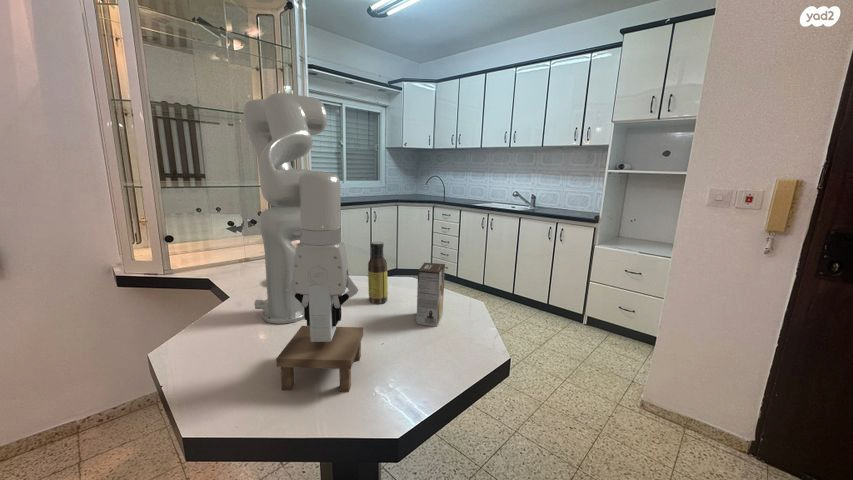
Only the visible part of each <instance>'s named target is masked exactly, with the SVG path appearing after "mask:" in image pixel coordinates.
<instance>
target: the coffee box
mask: <svg viewBox="0 0 853 480" xmlns="http://www.w3.org/2000/svg"><path fill="white" fill-rule="evenodd" d="M445 268H446V264H445V263H435V262H424V263H423V264H422V266H421V267H420V268H419V269H418V270H417V292H416V293H417V295H416V298H417V299H416V324H417V325H421V326H430V327H438V326H439V325H440V322H441V319H442V317H443V314H444V293H445V290H444V289H445V288H444V287H445V271H446V269H445Z"/></svg>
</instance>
